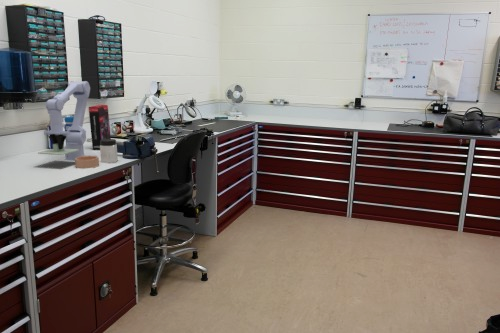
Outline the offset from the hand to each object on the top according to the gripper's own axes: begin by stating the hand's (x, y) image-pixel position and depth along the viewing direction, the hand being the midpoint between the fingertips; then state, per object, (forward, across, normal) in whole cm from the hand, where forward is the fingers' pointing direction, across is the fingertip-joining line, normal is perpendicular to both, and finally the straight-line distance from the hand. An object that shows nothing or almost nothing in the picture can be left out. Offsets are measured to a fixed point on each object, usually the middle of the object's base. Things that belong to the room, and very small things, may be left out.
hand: (58, 148), depth 216 cm
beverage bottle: (+9, -27, +46) cm, 54 cm away
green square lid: (+2, 0, 0) cm, 2 cm away
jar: (+9, +19, +16) cm, 26 cm away
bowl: (+9, +15, +2) cm, 17 cm away
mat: (+9, -1, 0) cm, 9 cm away
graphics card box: (+9, -10, +52) cm, 53 cm away
